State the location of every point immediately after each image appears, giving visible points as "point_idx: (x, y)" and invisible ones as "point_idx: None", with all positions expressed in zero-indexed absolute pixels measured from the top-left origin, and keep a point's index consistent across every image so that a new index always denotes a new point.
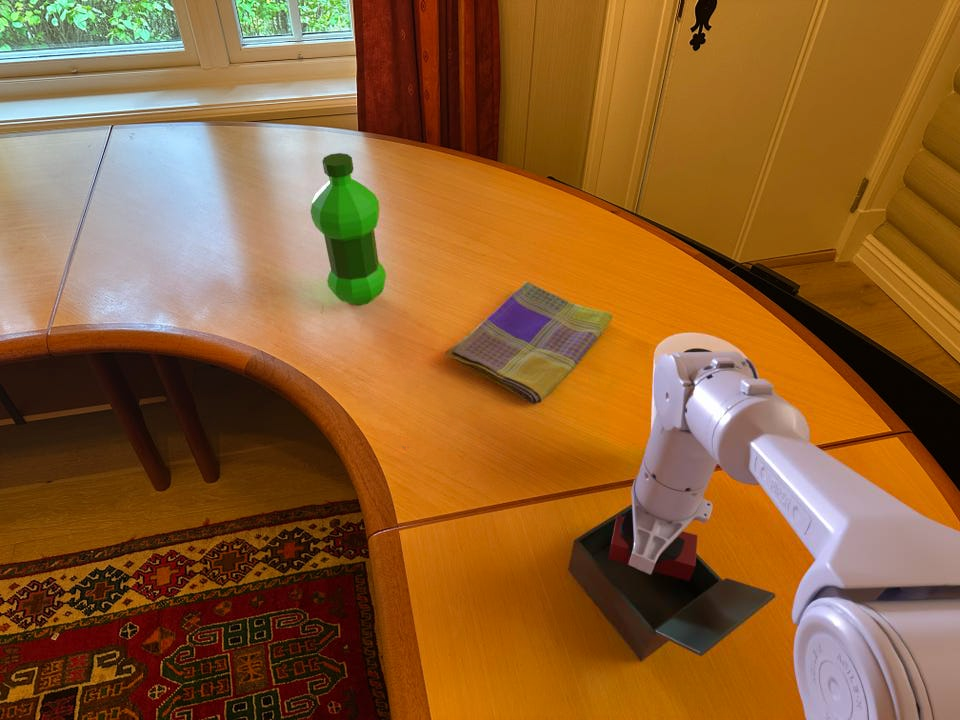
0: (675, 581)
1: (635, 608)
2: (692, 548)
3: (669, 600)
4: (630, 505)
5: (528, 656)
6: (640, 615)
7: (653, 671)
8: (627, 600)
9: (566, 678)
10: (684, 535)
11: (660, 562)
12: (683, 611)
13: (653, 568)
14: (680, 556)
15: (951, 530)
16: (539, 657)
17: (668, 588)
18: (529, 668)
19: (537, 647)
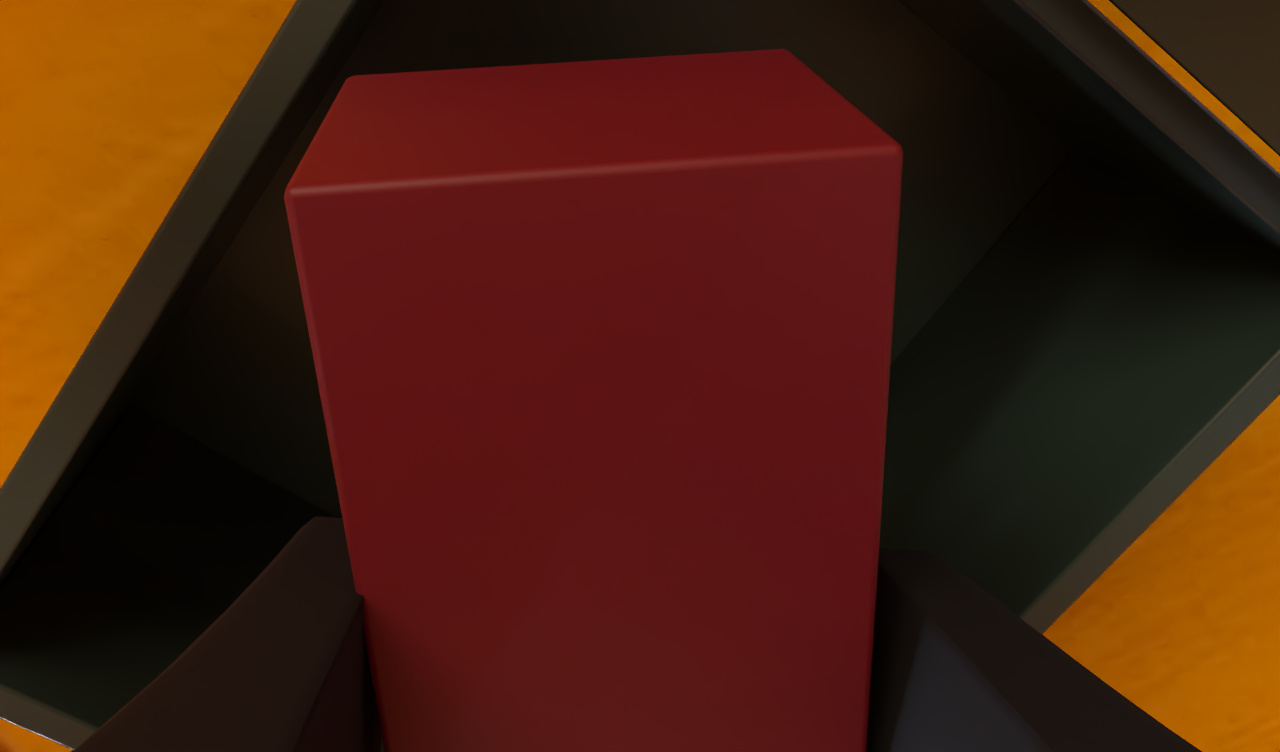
0: (420, 2)
1: (1164, 470)
2: (586, 230)
3: (608, 25)
4: (65, 743)
5: (1186, 703)
6: (1222, 419)
7: (1141, 42)
8: (1100, 544)
9: (1268, 510)
10: (395, 386)
11: (1184, 740)
12: (1223, 70)
13: (970, 580)
14: (795, 377)
15: None
16: (1182, 657)
17: (507, 49)
18: (1245, 681)
19: (1132, 681)
